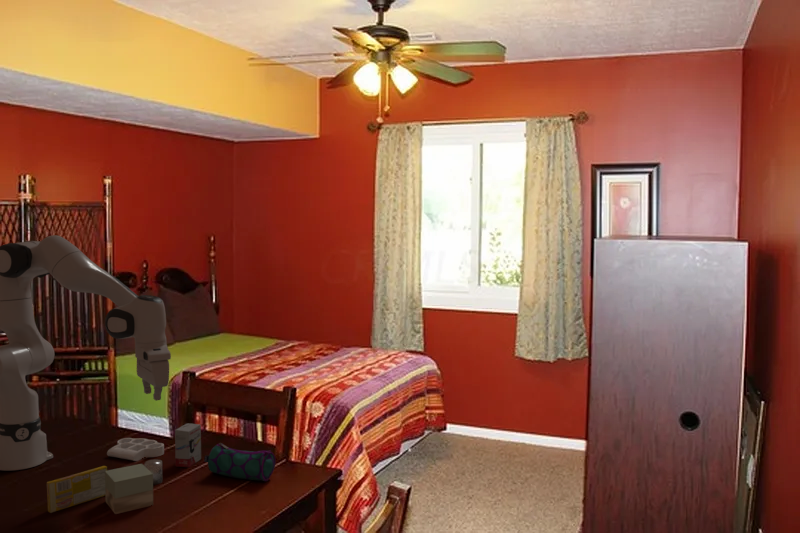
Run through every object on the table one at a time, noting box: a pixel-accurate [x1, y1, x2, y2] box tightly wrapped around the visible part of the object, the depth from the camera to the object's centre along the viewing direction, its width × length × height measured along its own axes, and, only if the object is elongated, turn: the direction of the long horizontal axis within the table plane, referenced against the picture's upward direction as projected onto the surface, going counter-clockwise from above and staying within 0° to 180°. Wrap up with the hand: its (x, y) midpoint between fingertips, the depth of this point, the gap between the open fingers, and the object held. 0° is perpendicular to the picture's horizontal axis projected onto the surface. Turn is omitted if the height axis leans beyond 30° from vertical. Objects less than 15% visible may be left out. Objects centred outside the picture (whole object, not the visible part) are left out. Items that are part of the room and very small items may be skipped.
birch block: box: [105, 487, 154, 515], centre depth 190 cm, size 10×10×4 cm
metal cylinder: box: [144, 458, 164, 486], centre depth 206 cm, size 5×5×6 cm
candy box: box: [46, 465, 108, 514], centre depth 190 cm, size 16×2×8 cm, turn 141°
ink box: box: [174, 422, 202, 468], centre depth 222 cm, size 9×5×12 cm, turn 168°
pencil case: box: [203, 442, 276, 482], centre depth 210 cm, size 21×9×10 cm, turn 69°
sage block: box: [105, 463, 154, 498], centre depth 190 cm, size 10×10×4 cm
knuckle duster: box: [106, 437, 165, 462], centre depth 231 cm, size 3×18×15 cm
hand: (152, 396), depth 204 cm, fingers open, 8 cm apart
